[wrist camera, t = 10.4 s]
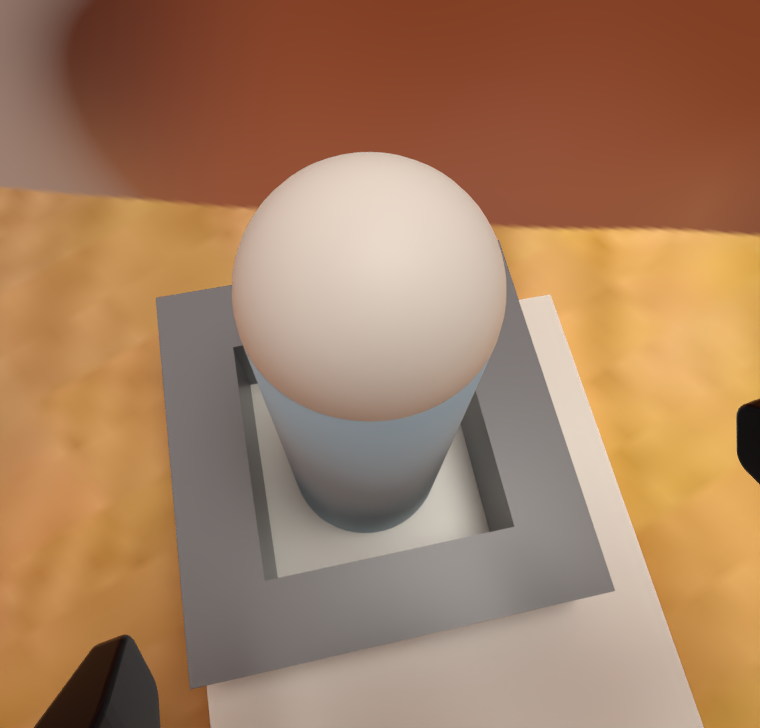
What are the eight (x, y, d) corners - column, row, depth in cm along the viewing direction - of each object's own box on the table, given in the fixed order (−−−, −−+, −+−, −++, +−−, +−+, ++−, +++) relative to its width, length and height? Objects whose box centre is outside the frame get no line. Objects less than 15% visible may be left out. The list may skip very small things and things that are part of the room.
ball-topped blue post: (416, 550, 19) (504, 403, 7) (275, 510, 19) (148, 309, 8) (449, 414, 21) (561, 124, 9) (319, 380, 21) (268, 58, 9)
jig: (706, 779, 18) (797, 818, 14) (236, 905, 16) (200, 986, 13) (537, 291, 24) (569, 228, 20) (181, 354, 22) (145, 299, 18)
